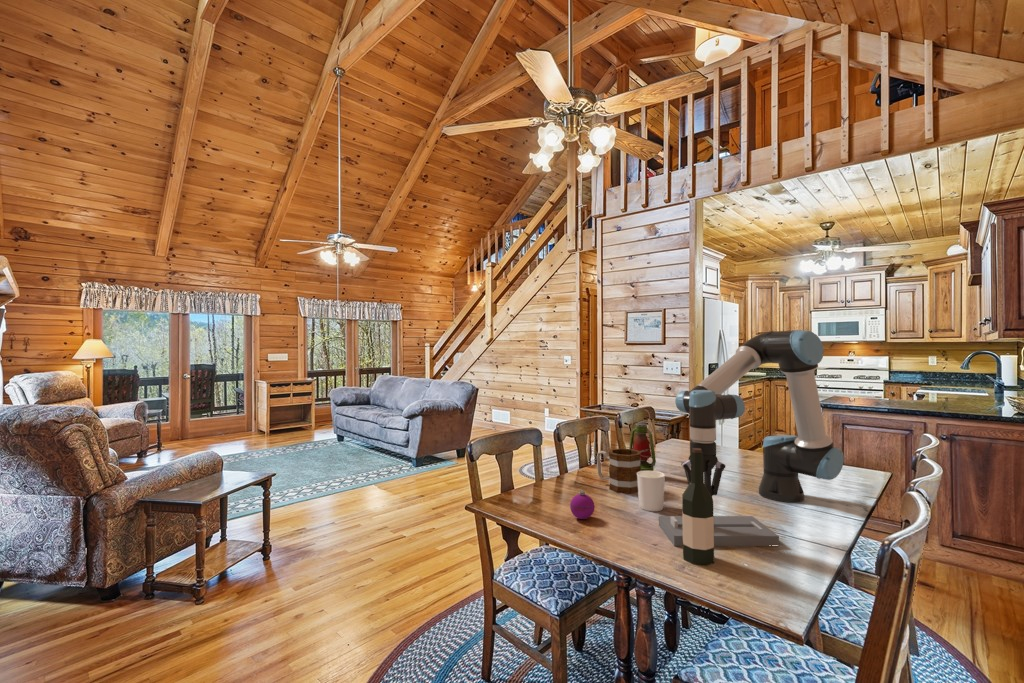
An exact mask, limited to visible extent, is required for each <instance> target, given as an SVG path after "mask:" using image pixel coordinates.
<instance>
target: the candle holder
mask: <svg viewBox="0 0 1024 683" xmlns="http://www.w3.org/2000/svg"><path fill="white" fill-rule="evenodd" d="M665 478H666V475H665V473H663V472H660V471H655V470H653V471H639V472H637V483H638V493H637V495H638V497H637V498H638V505H639V509H642V510H643V511H646V512H647V511H648V512H659V511H662V510H663V509H664V502H665V501H664V500H665V499H664V498H665V483H666V482H665V481H666V480H665Z"/></svg>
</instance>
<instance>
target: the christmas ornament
mask: <svg viewBox="0 0 1024 683" xmlns="http://www.w3.org/2000/svg"><path fill="white" fill-rule="evenodd" d="M594 502H595V501H594V500H593V499H592V497H590V496H589V495H588V494H586V492H585V490H582V489H580V490H579V493H578V494H576V495H574V496H573V497H572V499H571V501H570V504H569V509H570V511H571V513H572V515H573V516H574V517H575V518H577V519H579V520H588V519H589V518H591V516H592V515H593V514H594V511H595V509H596V508H595V503H594Z"/></svg>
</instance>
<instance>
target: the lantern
mask: <svg viewBox="0 0 1024 683" xmlns="http://www.w3.org/2000/svg"><path fill="white" fill-rule="evenodd" d="M636 411H646V412H647V413H648V417H649V418H648V420H649V422H648V423H649V427H650V429H651V431H650V430H649V429H648V423H646V422H644V421H643V420H640V419H644V417H641V416H640V417H639V418H638V420H639V421H638V422H636V423H635V428H632V427H633V426H634V421H635V420H634V414H635V412H636ZM630 429H631V431H630V440H629V447H628V449H634V450H637V451H641V456H640V464H641V471H654V467H655V466H656V463H657V460H656V452H655V446H654V438H653V434H652V433H653V432H654V430H653V428H652V425H651V415H650V411H649V410H647V409H646V408H641V407H640V408H639V407H638V408H636V409H634V410H633V412H632V424H631V425H630ZM635 433H636V437H635ZM647 434H648V436H647ZM634 437H635V439H634ZM648 438H649V439H648ZM649 459H651V460H652V462H651V463H649V462H648V460H649Z"/></svg>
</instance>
